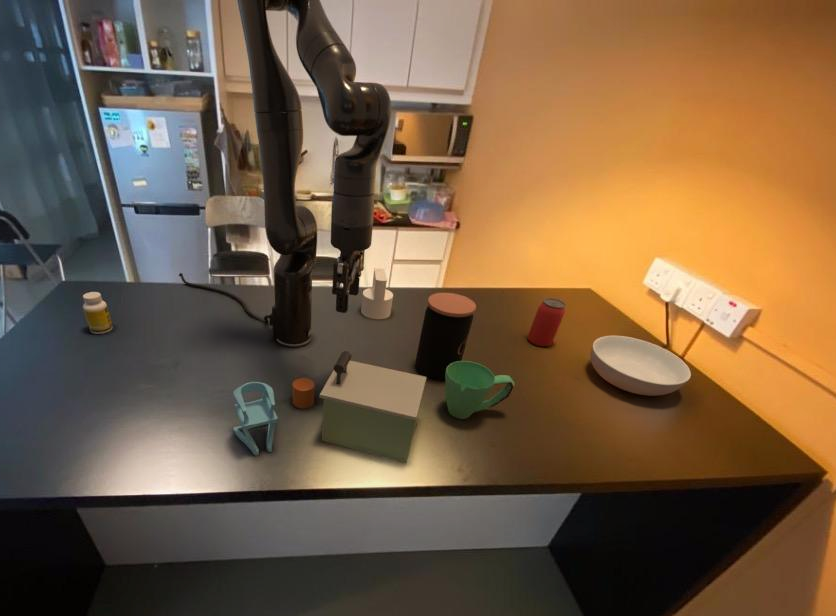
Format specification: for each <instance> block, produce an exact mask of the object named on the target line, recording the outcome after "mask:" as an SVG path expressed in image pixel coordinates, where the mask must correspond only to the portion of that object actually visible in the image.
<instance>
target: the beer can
mask: <svg viewBox="0 0 836 616" xmlns="http://www.w3.org/2000/svg"><path fill="white" fill-rule="evenodd" d="M565 313H566V303H565V302H564V301H562V300H561V299H558V298H553V297H547V298H544V299H543V300H542V301H541V303H540V304H539V306H538V307H537V310H536V313H535V315H534V318H533V321H532V324H531V326H530V329H529V332H528V335H527V340H528V341H529V342H530V343H531V344H533V345H534V346H536V347H537V346H538V347H542V348H543V347H545V348H546V347H550V346H552V344H553V343H554V340H555V337H556V335H557V332H558V331H559V328H560V326H561V323H562V321H563V318H564V316H565Z"/></svg>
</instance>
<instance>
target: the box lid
mask: <svg viewBox="0 0 836 616" xmlns="http://www.w3.org/2000/svg"><path fill="white" fill-rule="evenodd" d="M351 359H352V353H351V352H349V351H348V350H345V351H344V350H343V351H342V352H341V353H340V356H339V358H338V359H337V361H336V362H335V364H334V366H333V371H332V372H331V374H330V376H329V378H328V379H327V381H326V383H325V384H324V386H323V388H322V390H321V392H320V393H319V399H323V400H324V399H327V400H332V401H336V402H340V403H344V404H348V405H352V406H357V407H361V408H365V409H369V410H373V411H377V412H382V413H386V414H390V415H394V416H398V417H402V418H407V419H411V420H415V421H416V419H417V420H418V418H417V415H418V416H419V413H418V411H419V412H420V409H419V407H420V408H421V405H420V402H421V403H422V400H421V398H422V399H423V396H422V394H423V395H424V391H425V387H424V386H426V382H427V378H428V377H427V376H424V375H419V374H414V373H410V372H405V371H400V370H396V369H391V368H386V367H382V366H378V365H372V364H369V363H365V362H364V363H363V362H359V361H355V360H354V361H353V360H351ZM423 390H424V391H423Z"/></svg>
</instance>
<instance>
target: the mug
mask: <svg viewBox="0 0 836 616" xmlns="http://www.w3.org/2000/svg"><path fill="white" fill-rule="evenodd" d="M444 382H445V384H444V385H445V387H444V389H445V390H444V393H445V401H446V406H447V412H448V413H449V414H450V415H451V416H452V417H454V418H455V419H459V420H460V419H461V420H463V419H465V420H466V419H468V418H470V416H471V415H472V414H474V413H477V412H480V411H483V410H487V409H491V408H493V407H496V406H497V405H498V404H500V403H501V402H503V401H505V400H506V399H507V398H509V397H510V395H511V393H512V391H513V389H514V387H515V381H514V380H513V379H512V377H511V376H510V375H508V374H500V375H495V374H494V373H493V372H492V371H491V369H490V368H488V367H486V366H484V365H482V364H480V363H477V362H475V361H474V362H473V361H471V360H469V361H468V360H461V361H457V362H453V363H451V364H450V365H448V366H447V369H446V372H445V380H444ZM503 384H505V386H504V388H502V389H501V390H500V391H499V392H497V393H495V394H494V395H493V396H491V397H490V398H488V399H486V398H487V396H488V395H489V393H490V392H491V390H492V389H493V387H494V386H497V385H503Z"/></svg>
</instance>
